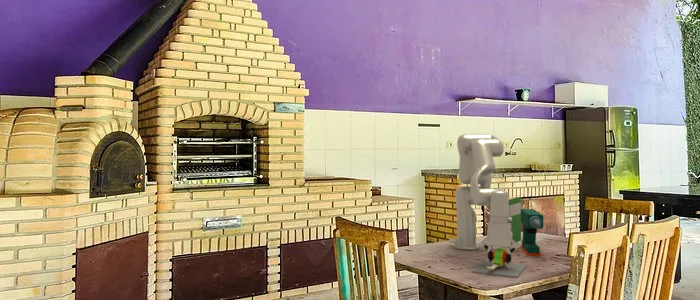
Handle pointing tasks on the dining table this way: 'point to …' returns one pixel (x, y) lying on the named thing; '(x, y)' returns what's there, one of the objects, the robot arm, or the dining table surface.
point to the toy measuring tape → (498, 258)
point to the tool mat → (500, 269)
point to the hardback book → (515, 217)
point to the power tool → (531, 231)
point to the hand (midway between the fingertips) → (499, 261)
